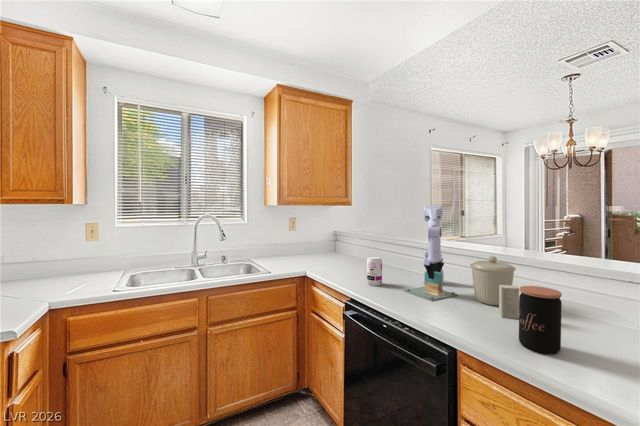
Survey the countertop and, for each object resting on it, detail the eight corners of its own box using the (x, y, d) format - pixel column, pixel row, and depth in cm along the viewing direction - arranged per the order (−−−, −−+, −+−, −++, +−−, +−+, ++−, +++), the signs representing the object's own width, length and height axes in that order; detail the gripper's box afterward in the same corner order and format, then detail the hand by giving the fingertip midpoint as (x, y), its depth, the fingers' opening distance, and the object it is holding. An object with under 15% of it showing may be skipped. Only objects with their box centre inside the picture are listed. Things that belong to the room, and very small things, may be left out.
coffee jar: (510, 340, 100) (511, 286, 99) (541, 339, 101) (542, 285, 100) (536, 356, 89) (537, 295, 89) (570, 355, 90) (571, 294, 89)
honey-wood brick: (429, 289, 156) (429, 280, 156) (442, 292, 151) (442, 282, 151) (424, 291, 153) (424, 281, 153) (438, 294, 148) (438, 284, 148)
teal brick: (428, 280, 156) (429, 270, 156) (442, 282, 151) (442, 272, 151) (424, 281, 153) (424, 271, 153) (437, 284, 148) (437, 274, 148)
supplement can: (381, 282, 173) (381, 256, 173) (382, 286, 165) (382, 259, 165) (366, 282, 174) (366, 256, 174) (367, 286, 166) (367, 258, 166)
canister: (512, 299, 143) (512, 254, 142) (518, 311, 126) (519, 261, 126) (469, 294, 150) (469, 252, 150) (470, 305, 134) (470, 258, 133)
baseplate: (429, 286, 164) (429, 284, 164) (457, 295, 148) (457, 292, 148) (404, 291, 156) (404, 288, 156) (431, 301, 140) (431, 298, 140)
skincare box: (516, 315, 122) (516, 285, 122) (519, 319, 118) (519, 288, 117) (498, 313, 124) (498, 284, 124) (500, 317, 120) (501, 287, 119)
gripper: (433, 248, 159) (433, 274, 160) (419, 251, 150) (419, 278, 150) (447, 249, 154) (446, 276, 154) (432, 252, 144) (432, 281, 145)
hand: (434, 277), depth 152 cm, fingers open, 6 cm apart
